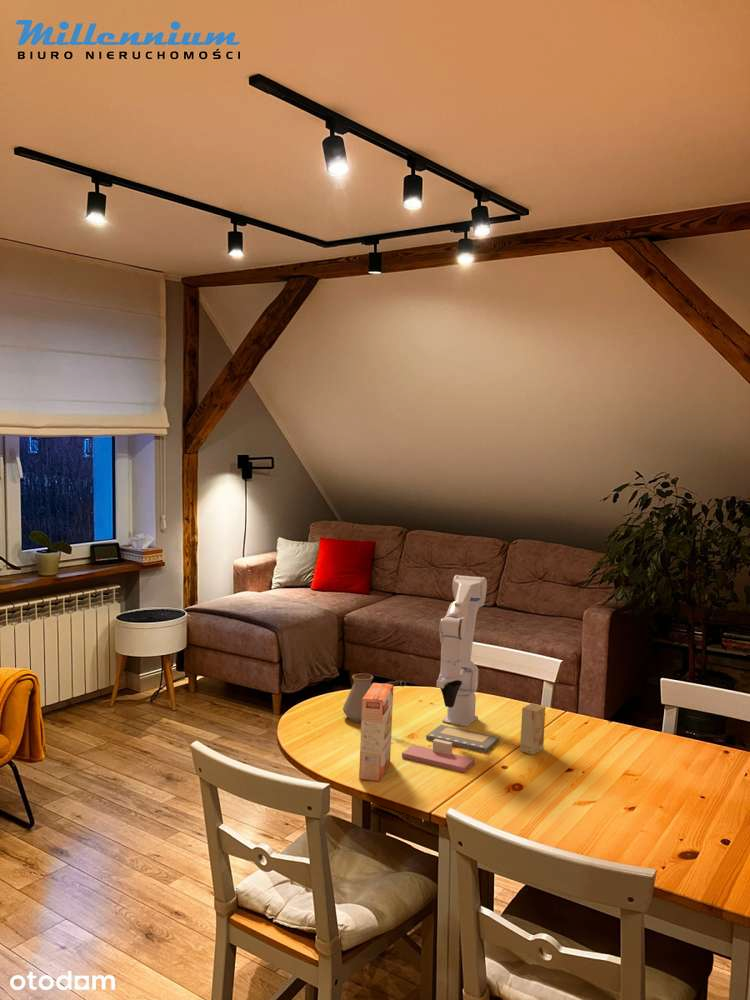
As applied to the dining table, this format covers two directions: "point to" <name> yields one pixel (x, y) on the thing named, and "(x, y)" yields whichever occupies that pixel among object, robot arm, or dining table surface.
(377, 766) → the cracker box
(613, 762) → the dining table surface
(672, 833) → the dining table surface
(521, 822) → the dining table surface
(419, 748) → the pink board with handle
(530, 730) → the skincare box
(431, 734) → the ticket
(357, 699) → the coffee pot
